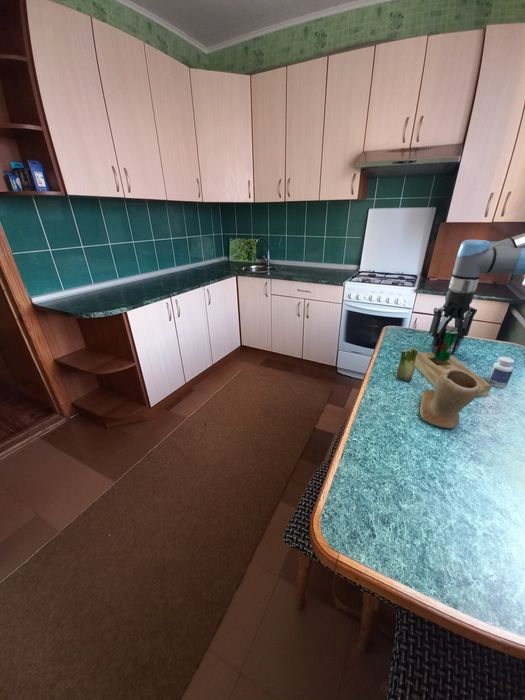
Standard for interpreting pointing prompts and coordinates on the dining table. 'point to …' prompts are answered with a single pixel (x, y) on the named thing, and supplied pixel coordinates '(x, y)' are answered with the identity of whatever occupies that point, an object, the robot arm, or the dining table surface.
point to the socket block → (435, 367)
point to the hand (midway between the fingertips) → (442, 353)
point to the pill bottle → (501, 372)
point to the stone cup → (448, 398)
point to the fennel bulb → (407, 365)
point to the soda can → (447, 343)
